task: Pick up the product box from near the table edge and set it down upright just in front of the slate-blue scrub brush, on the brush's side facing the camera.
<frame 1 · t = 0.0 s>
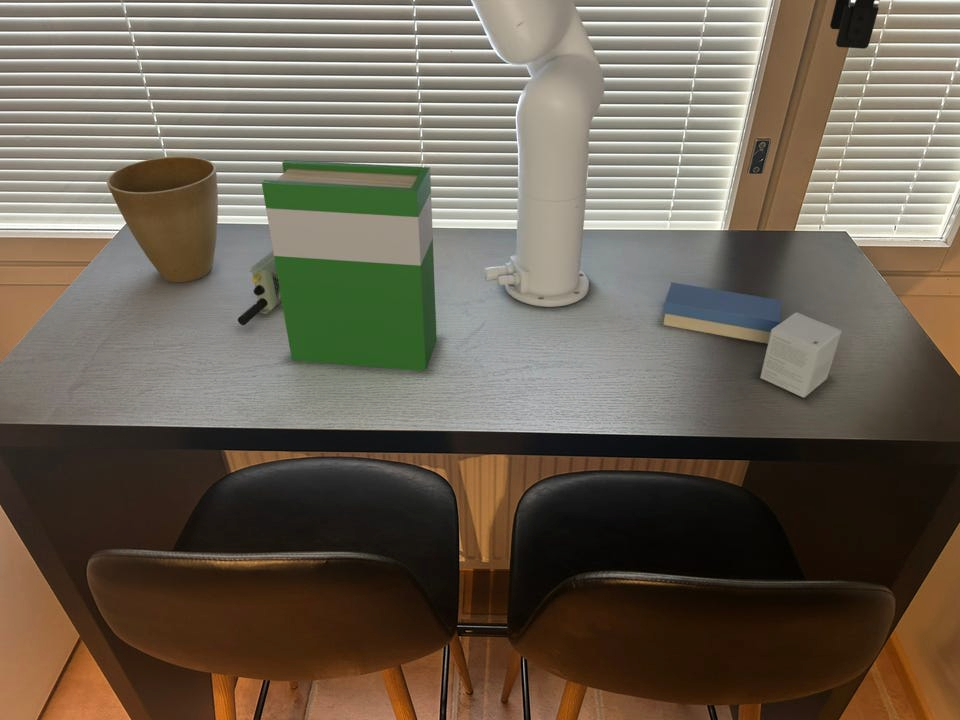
hand: (847, 37, 85), 37 cm above the table, tool pointing down, fingers open, 9 cm apart
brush: (718, 324, 105), on the table
handheld radio: (290, 288, 114), on the table
plant pot: (186, 272, 118), on the table
hardback book: (365, 351, 100), on the table
product box: (792, 380, 95), on the table
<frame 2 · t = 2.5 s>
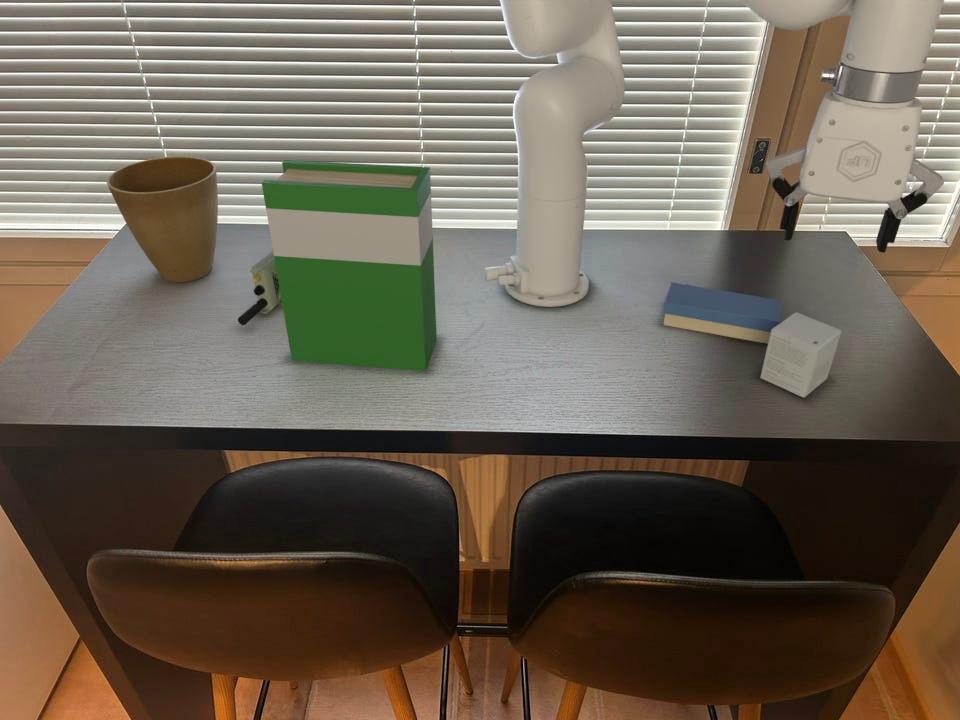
hand: (833, 241, 85), 18 cm above the table, tool pointing down, fingers open, 9 cm apart
nothing on the table moved.
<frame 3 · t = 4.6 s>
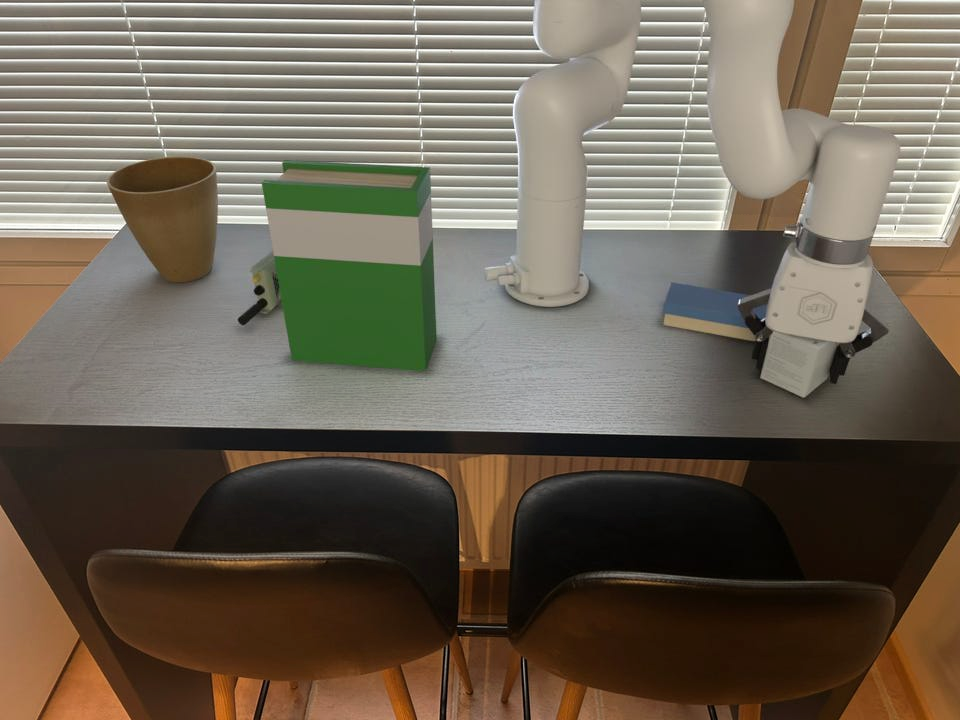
hand: (795, 370, 94), 1 cm above the table, tool pointing down, fingers closed on product box, 8 cm apart
product box: (792, 380, 95), on the table, touching gripper
everything else where it was.
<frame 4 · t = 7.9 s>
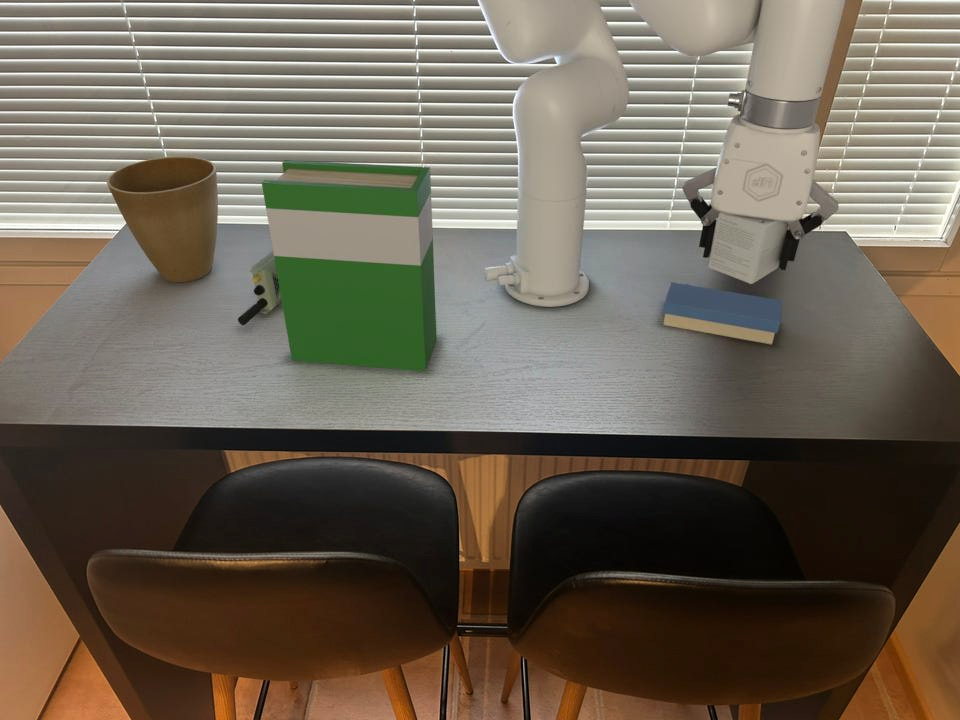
hand: (744, 258, 90), 15 cm above the table, tool pointing down, fingers closed on product box, 8 cm apart
product box: (741, 270, 90), point 13 cm above the table, touching gripper
everything else where it was.
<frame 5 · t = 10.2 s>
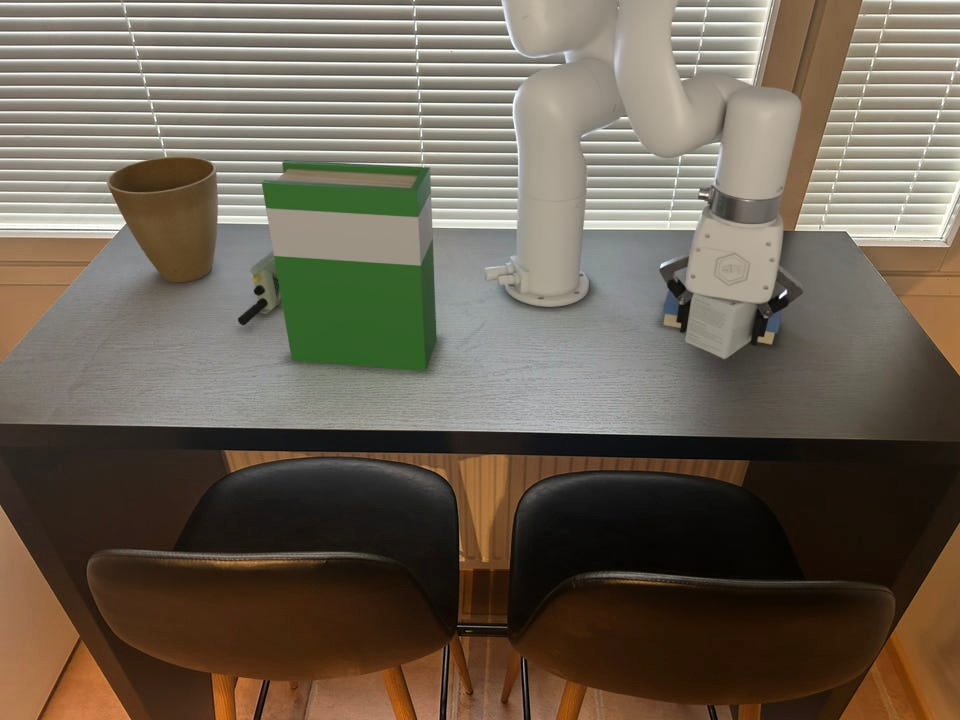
hand: (718, 333, 96), 4 cm above the table, tool pointing down, fingers closed on product box, 8 cm apart
product box: (716, 343, 97), point 3 cm above the table, touching gripper
everything else where it was.
when the fingers open (1 cm above the table, at t = 11.5 s): product box stays where it is, on the table.
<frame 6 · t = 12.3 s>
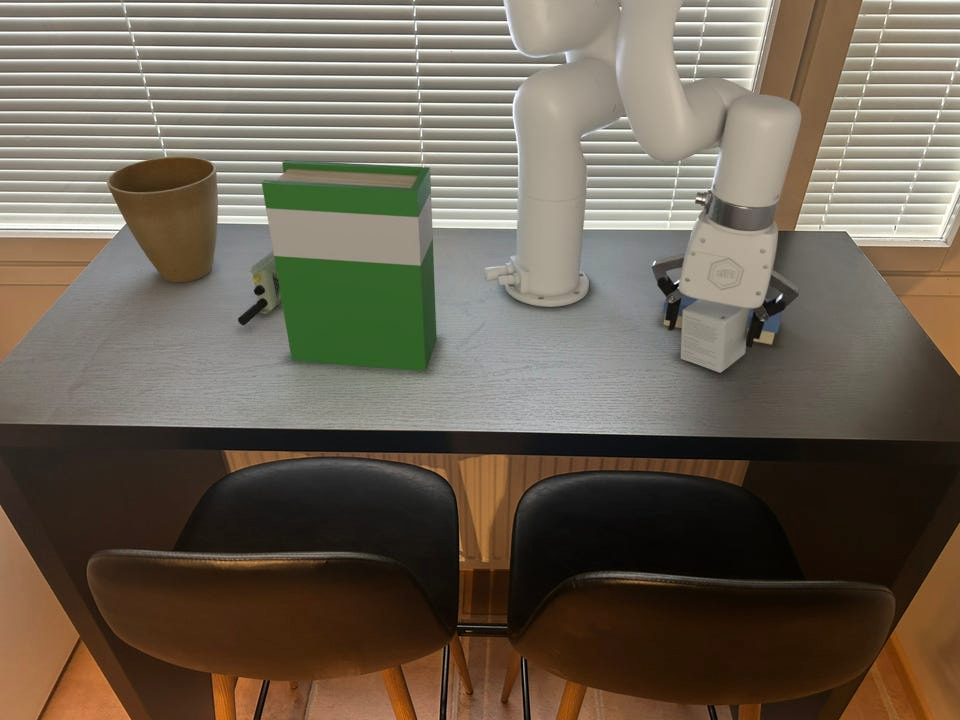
hand: (710, 333, 97), 4 cm above the table, tool pointing down, fingers open, 9 cm apart
product box: (712, 358, 98), on the table, touching gripper
everything else where it was.
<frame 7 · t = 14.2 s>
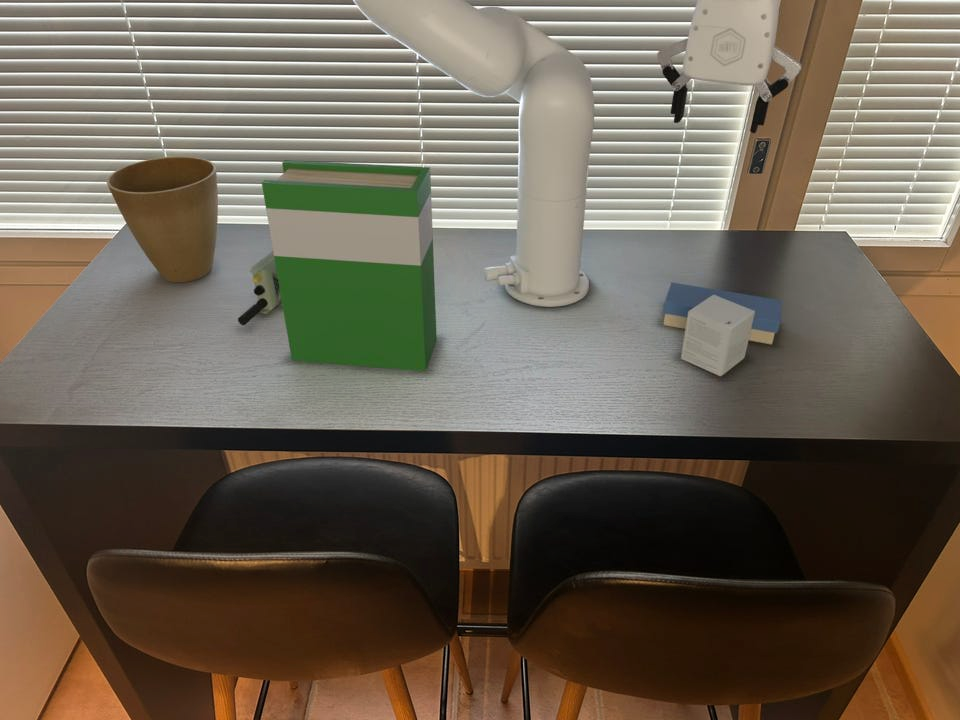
hand: (715, 125, 98), 25 cm above the table, tool pointing down, fingers open, 9 cm apart
product box: (711, 360, 98), on the table
everything else where it was.
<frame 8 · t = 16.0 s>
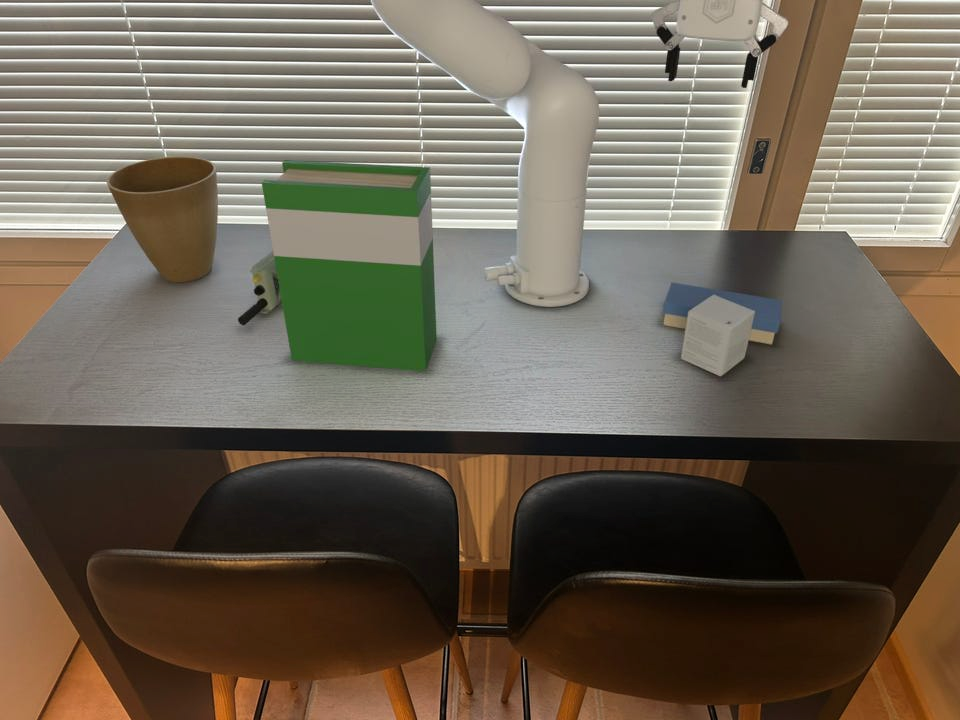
hand: (707, 82, 103), 28 cm above the table, tool pointing down, fingers open, 9 cm apart
nothing on the table moved.
at the end: product box inside the target area on the table beside the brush (0.9 cm from its centre), on the table; product box tilted 0°; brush moved 0.0 cm from its start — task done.
